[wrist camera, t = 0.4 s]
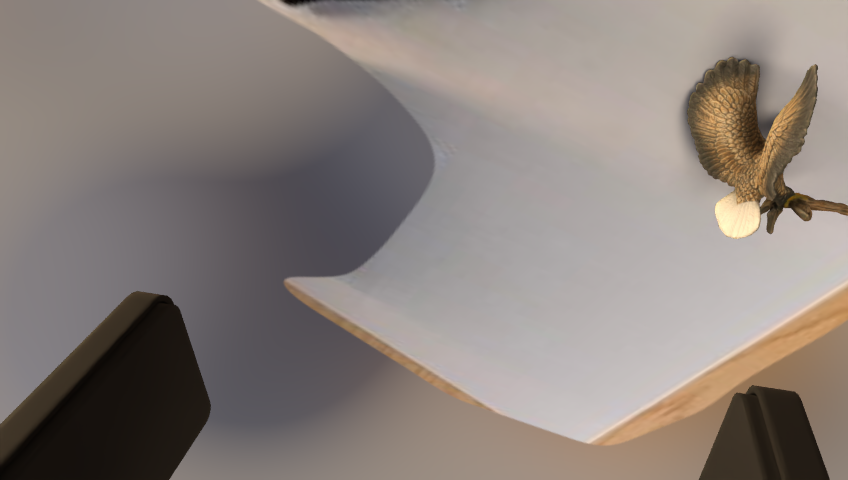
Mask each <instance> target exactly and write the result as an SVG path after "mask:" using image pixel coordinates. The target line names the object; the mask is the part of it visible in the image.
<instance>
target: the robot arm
mask: <svg viewBox="0 0 848 480" xmlns="http://www.w3.org/2000/svg"><path fill="white" fill-rule="evenodd" d="M210 407H211V404H210V400H209V397H208V394H207V391H206V388H205V385H204V382H203V379H202V376H201V373H200V370H199V367H198V364H197V361H196V358H195V354H194V351H193V348H192V345H191V342H190V340H189V336H188V333H187V330H186V327H185V324H184V321H183V318H182V315H181V312H180V309H179V308H178V307H177V306H176V305H174V303H173V301H172V299H171V298H169V297H168V296H165V295H159V294H152V293H146V292H139V291H136V292H133V293H131V294H130V295H129V296H128V297H126V298H125V299H124V300H123V302H121V303H120V305H119V306H118V307H117V308H116V309H115V310H114V311H113V312H112V313H111V314H110V315H109V316H108V317H107V318H106V319H105V320H104V321H103V322H102V323H101V324H100V325H99V326H98V327H97V328H96V329H95V330H94V331H93V332H92V333H91V334H90V335H89V336H88V337H87V338H86V339H85V340H84V341H83V342H82V343H81V344H80V345H79V346H78V347H77V348H76V349H75V350H74V351H73V352H72V353H71V354H70V355H69V356H68V357H67V358H66V359H65V360H64V361H63V362H62V363H61V364H60V365H59V366H58V367H57V368H56V369H55V370H54V371H53V372H52V373H51V374H50V375H49V376H48V377H47V378H46V379H45V380H44V381H43V382H42V383H41V384H40V385H39V386H38V387H37V388H36V389H35V390H34V391H33V392H32V393H31V394H30V395H29V396H28V397H27V398H26V399H25V400H24V401H23V402H22V403H21V404H20V405H19V406H18V407H17V408H16V409H15V410H14V411H13V412H12V413H11V414H10V415H9V416H8V417H7V418H6V419H5V420H4V421H3V422H2V423H1V424H0V480H169V479H170V478H171V476H172V474H173V473H174V471H175V470H176V468H177V467H178V465H179V464H180V462H181V461H182V459H183V458H184V456H185V455H186V453H187V451H188V450H189V448H190V447H191V445H192V444H193V442H194V440H195V439H196V438H197V436H198V434H199V433H200V431H201V430H202V428H203V427H204V425H205V424H206V422H207V420H208V417H209V414H210V410H211V408H210ZM699 480H830V479H829V476H828V473H827V470H826V468H825V465H824V462H823V460H822V457H821V454H820V451H819V448H818V446H817V443H816V440H815V437H814V434H813V431H812V429H811V426H810V423H809V420H808V418H807V415H806V412H805V409H804V407H803V404H802V401H801V399H800V397H799V395H798V394H797V393H796V392H792V391H786V390H780V389H774V388H767V387H760V386H754V385H752V386H751V387H750V388H749V389H748V391H747V392H746V394H742V393H736V394H735V395H734V396H733V398H732V401H731V403H730V406H729V408H728V410H727V413H726V415H725V418H724V420H723V423H722V425H721V427H720V430H719V432H718V435H717V437H716V440H715V442H714V444H713V447H712V449H711V452H710V454H709V457H708V459H707V461H706V464H705V467H704V469H703V471H702V473H701V476H700V478H699Z"/></svg>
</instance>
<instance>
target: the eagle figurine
mask: <svg viewBox="0 0 848 480" xmlns="http://www.w3.org/2000/svg"><path fill="white" fill-rule="evenodd" d="M817 70H818V66H817V65H816V64H815V65H814V66H811V67H810V69H809V70H808V71H807V73H806V76H805V78H804V80H803V82H802V84H801V86H800V88H799V89H798V91H797V93H796V94H795V96H794V97H793V98H792V100H791V101H790V102H789V103H788V104H787V105H786V106H785V107H784V108H783V109H782V110H781V112H780V113H779V115H778V116H777V117H776V119H775V121H774V123H773V125H772V128H771V130H770V132H769V134H768V137H767V139H766V140H765V139H764V138H763V136H762V135H761V133H760V130H759V127H758V121H757V110H756V97H757V91H758V82H759V78H760V67H759V65H757V64H754V65H751V64H750V63H749V61H748V60H742V61H740V62H738V60H737V59H736V58H733V57H732V58H729V59H728V60H727V61H724V60H721V61H719V62H718V63H717V65H716V67H715V69H714V70H709V71H708V72H707V73H706V75H705V78H704V83H698V84H697V86H696V92H693V93H692V95H691V96H690V101H689V108H688V110H687V114H688V116H689V118H688V124H689V125H690V127H691V134H692V137H693V138H694V139H695V145H696V149H697V151H698V153H699V155H698V157H699V159H700V163H701V164H702V166H703V168H704V169H705V170H707V172H708V174H709V175H710V176H713V178H714V179H720V181H722V182H727V183H728V185H729V186H734V187H735V190H734V191H733V192H731V193H730V194H729V195H727V196H726V197H725V198H723V199H722V200H720V201H719V202H718V203H717V204H716V207H715V215H716V217H717V220H718V225H719V228H720V229H721V230H722V231H723V232H724V234H725V235H726V236H727V237H732V238H734V239H737V238H744V237H746V236H749V235H752V234H753V233H754V232H755V231H757V230H758V228H759V226H760V222H761V214H763V213H765V212H767V211H768V210H769V209H770V211H769V212H768V213H767V232H768V233H769V234H772V233H773V230H774V224H775V222H776V220H777V217H778V216H779V214H780V213H781V212H782V211H783V208H791V209H792V210H793V211H794V212H795V213H796V214H797V215H798V216H799V217H800V218H801V219H802V220H804V221H809V220H811V218H812V211H811V210H819V211H832V212H838V213H840V214H843V215H848V206H847V205H846V204H843V203H834V202H829V201H825V200H815V199H813V198H811V197H809V196H807V195H803V194H800V193H794V191H793V190H792V189H791V188H789V187H787V186H785V183H784V179H783V172H784V169H785V168H786V166H787V164H788V163H790V162H791V160H792V157H793V156H795V155H797V154H798V153H799V152H800V151H801V147H802V146H803V144H804V142H805V140H804V136H805V135H806V134H807V128H808V127H809V125H810V121H811V117H812V114H813V110H814V107H815V104H816V101H817V99H816V97H817V91H818V87H817V80H818V76H817ZM764 196H765V197H766V198H767V199H766V200H765V201H764V203H763V204H762V206H761V207H760V206H759V203H760V200H761V198H763V197H764Z"/></svg>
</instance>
